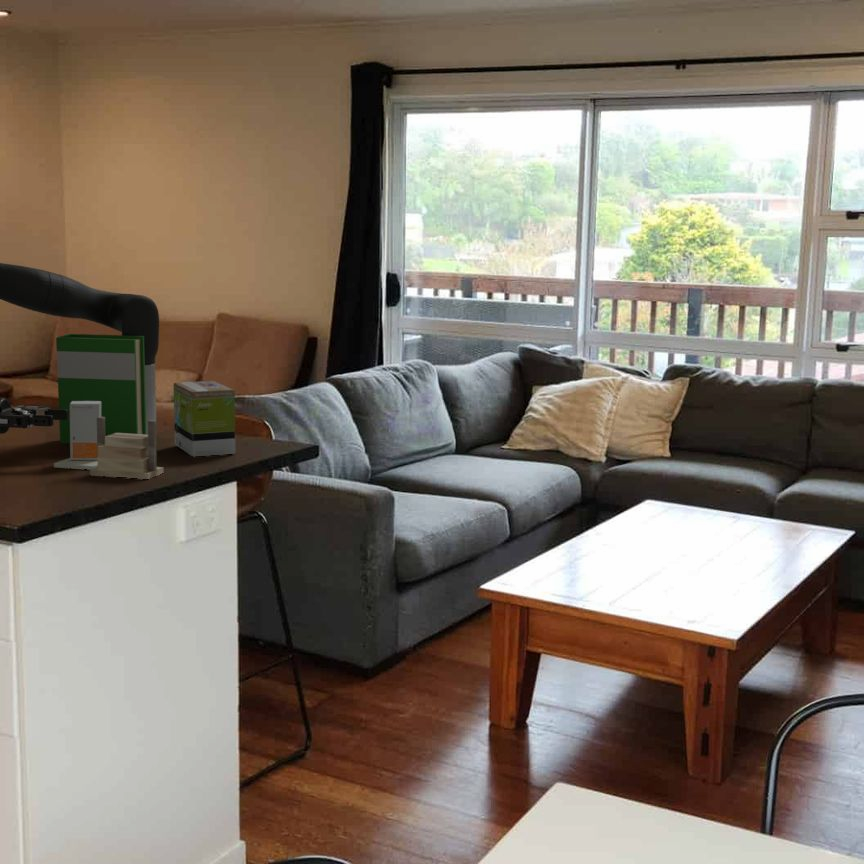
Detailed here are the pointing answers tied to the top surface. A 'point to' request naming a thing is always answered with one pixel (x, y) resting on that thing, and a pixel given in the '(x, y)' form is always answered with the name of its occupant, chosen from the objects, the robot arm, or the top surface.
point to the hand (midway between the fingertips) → (60, 417)
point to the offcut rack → (126, 453)
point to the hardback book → (103, 379)
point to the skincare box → (84, 429)
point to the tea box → (204, 418)
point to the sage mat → (77, 464)
